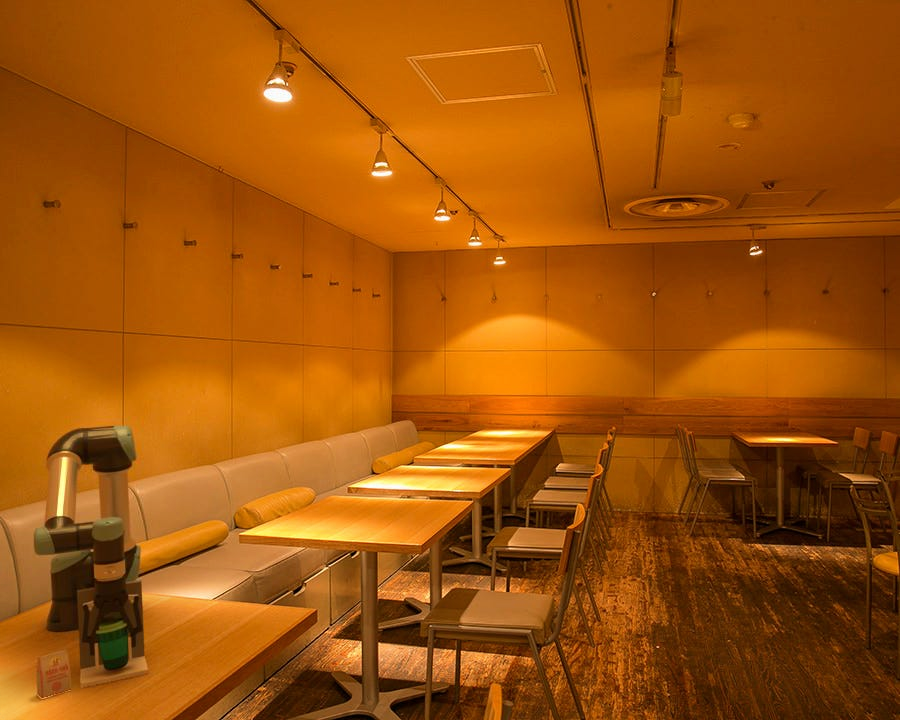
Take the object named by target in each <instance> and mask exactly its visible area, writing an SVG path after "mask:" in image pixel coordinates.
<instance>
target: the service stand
mask: <svg viewBox="0 0 900 720" xmlns="http://www.w3.org/2000/svg"><path fill="white" fill-rule="evenodd" d="M142 583H143V582H142V580H135V581H132V582H126V592H127V593H128V595H134V594H138V596H139V601H138V608H139V613H140V618H141V623H142V629H143V630H142V632H139V633H137V634H136V646H135V647H132V661H130V662H129V659H128V663H127V665H126V666H124V667H122V668H120V669H116V670H106V669H105V668H104V664H103V660H102V658H101V654H100V650H99V646H98V659H99V668H97V669H96V665H95V655H93V656H91V655H90V644H89V643H83V642H82V631H83V622H84V610H83V603H85V602H87V603H88V602H91V601H93V600H94V598H95V588H89V589H83V590H77V601H78V624H79V629H78V643H79V645H78V647H79V666H80V670H79V671H80V689H84V687H85V688H88V687H87V686H90V687H92V686H91V685H94V686H97V685H96V684H99V685H102V684H101V683H104V684H108V683H112V682H111V681H113V682H117V681H122V680H127V679H130V677H131V678H136V677H139V676H143V675H144V676H145V675H148V674H149V669H148V664H147V660H146V655H145V635H144V634H145V631H144V612H143V611H144V609H143V591H142V590H143V588H142V586H143V585H142ZM123 608H124V610H125V612H126V614H127V616H128V618H129V620H130V622H131V623H132V625H133V627H134V628H136V627H137V624H136V619H135V614H134V609H133V603H130V600H129V599H128V600H127V601H126V603H125V604H124V606H123ZM99 611H100V610H99V609H98V608H97V607H96V606H95V605H93V607H92V610H91V611H90V616H89V626H88V635H87V636H89V637H90V636H91V633H92V630H93V628H94V625H95V622H96V619H97V617H98V613H99ZM114 616H121V615H120V613H119V611H118V612H111V613H109V614H105V615H104V618H103V619H105V618H108V617H114ZM127 633H128V634H130V632H129V630H128V628H127ZM95 640H97V637H96V639H95ZM126 678H127V679H126ZM121 679H122V680H121ZM116 680H117V681H116ZM107 682H108V683H107Z"/></svg>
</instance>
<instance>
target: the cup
mask: <svg viewBox="0 0 900 720" xmlns="http://www.w3.org/2000/svg"><path fill="white" fill-rule="evenodd" d="M126 626H127V624H126V623H124V621H123V619H122V617H121V616H114V617H108V618H105V619H103V620H102V623H101V624H100V625H99V630H97V631H96V633H97V640H98V646H99V650H100V654H101V658H102V660H103V664H104V668H105V669H106V670H116V669H120V668H122V667H124V666H126V665H127V663H128V633H127V627H126Z"/></svg>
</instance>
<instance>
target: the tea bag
mask: <svg viewBox="0 0 900 720" xmlns="http://www.w3.org/2000/svg"><path fill="white" fill-rule="evenodd" d="M36 663H37V664H36V671H35V672H36V673H35V674H36V693H37V694H38V695H39V696H40V697H41V698H44V697H48V696H51V695H54V694H58V693H62V692H65V691H68V690H72V688H71V687H72V686H71V666H70V661H69V654H68V649H64V650H60V651H55V652H53V653H50V654H46V655H42V656H39V657H37V662H36ZM68 692H69V691H68ZM65 693H66V692H65ZM37 694H36V695H37ZM62 694H63V693H62ZM58 695H59V694H58Z"/></svg>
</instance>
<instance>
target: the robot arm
mask: <svg viewBox="0 0 900 720" xmlns="http://www.w3.org/2000/svg"><path fill="white" fill-rule="evenodd" d="M137 459H138V456H137V451H136V444H135V438H134V434H133V430H132V429H131V427H129V426H128V425H107V426H96V427H94V426H93V427H79V428H75V429H72V430H70V431H68V432H65V433H64V434H63V435H61V436H60V437H59V438H58V439H57V440H56V441H55V442H54V443H53V445H52V446H51V448H50V449H49V452H48V453H47V458H46V461H45V462H46V463H45V467H46V469H47V471H48V483H47V493H46V502H45V503H46V504H45V511H44V513H45V515H44V524H43V526H41V527H40V526H39V527H37V528H36V529H35V530H34V532H33V550H34V553H35V554H36V555H37V556H51V555H52V556H53V557H52V558H51V560H50V571H49V573H50V582H51V583H50V584H51V586H50V587H51V605H50V608H49V612H48V615H47V619H46V629H47V630H49V631H52V632H66V631H74V630H77V629H78V630H79V624H78V601H77V590H83V589H89V588H95V598H94V600H93V601H91V602H88V603H87V602H85V603H83V610H84V622H83V631H82V642H83V643H89V644H90V655H91V656H93V655H95V665H96V669H97V668H99V659H98V640H95V639H96V637H97V633H96V631H97V630H99V625H100V624H101V623H102V620H103V618H104V615H105V614H109V613H111V612H118V611H119V613H120V615H121V617H122V619H123V621H124V623H126V624H127V626H126V627H127V628H128V630H129V632H130V634H128V659H129V662H130V661H132V647H135V646H136V634H137V633H139V632H142V630H143V629H144V628H143V629H142V623H141V618H140V613H139V608H138V601H139V596H138V594H134V595H128V593H127V592H126V582H132V581H137V579H138V578H139V574H140V569H141V568H140V566H141V554H142V553H141V551H142V550H141V548H142V547H141V545H138V544H136V543H137V542H136V540H135V539H134V538H133V537H131V522H130V520H131V519H130V517H131V516H130V501H129V499H130V498H129V475H128V474H129V473H128V471H129V470H130V469H131V468H132V467H133V462H135V461H137ZM84 465H85V466H87V465H92V471H94V472H95V473H96V474H97V475H98V477H97V478H98V491H99V493H98V494H99V511H100V518H99V519H97V520H94V521H87V522H86V521H85V522H77V523H76V509H77V489H78V472H79V471H80V469H81V468H82V466H84ZM92 550H93V551H92ZM54 555H55V556H54ZM128 599H129V600H130V603H133V609H134V614H135V619H136V624H137V627H136V628H134V627H133V625H132V623H131V622H130V620H129V618H128V616H127V614H126V612H125V610H124V608H123V606H124V604H125V603H126V601H127V600H128ZM93 605H95V606H96V607H97V608H98V609H99V610H100V611H99V613H98V617H97V619H96V622H95V625H94V628H93V630H92V633H91V636H90V637H89V636H87V635H88V626H89V616H90V611H91V610H92V607H93Z"/></svg>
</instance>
